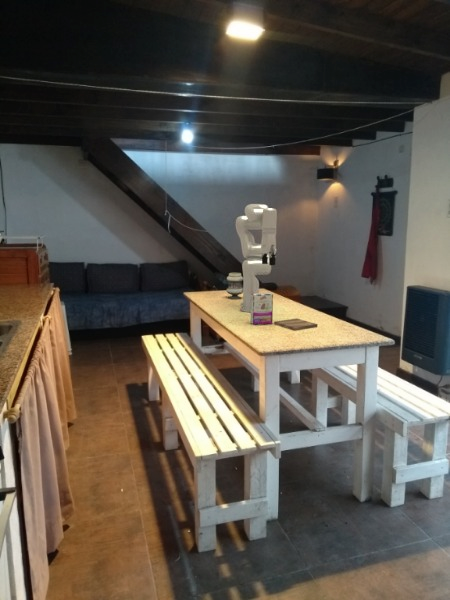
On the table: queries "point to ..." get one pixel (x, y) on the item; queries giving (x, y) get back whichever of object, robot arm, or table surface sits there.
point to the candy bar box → (261, 308)
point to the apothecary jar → (235, 285)
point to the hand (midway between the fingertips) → (268, 264)
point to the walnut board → (295, 324)
